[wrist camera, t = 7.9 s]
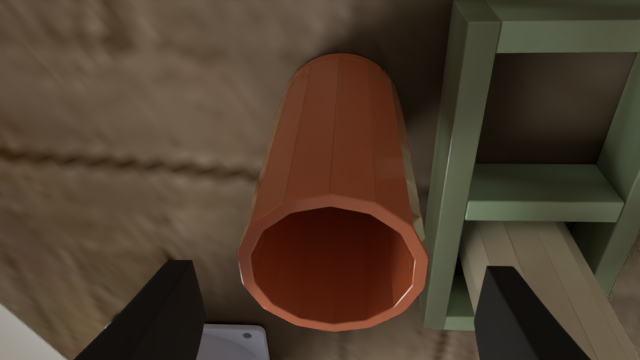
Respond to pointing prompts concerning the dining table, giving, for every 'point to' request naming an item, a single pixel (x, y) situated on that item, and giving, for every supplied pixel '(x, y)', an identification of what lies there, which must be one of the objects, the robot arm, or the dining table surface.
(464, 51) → the frame
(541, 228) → the cream tumbler
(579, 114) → the dining table surface
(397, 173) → the terracotta tumbler
